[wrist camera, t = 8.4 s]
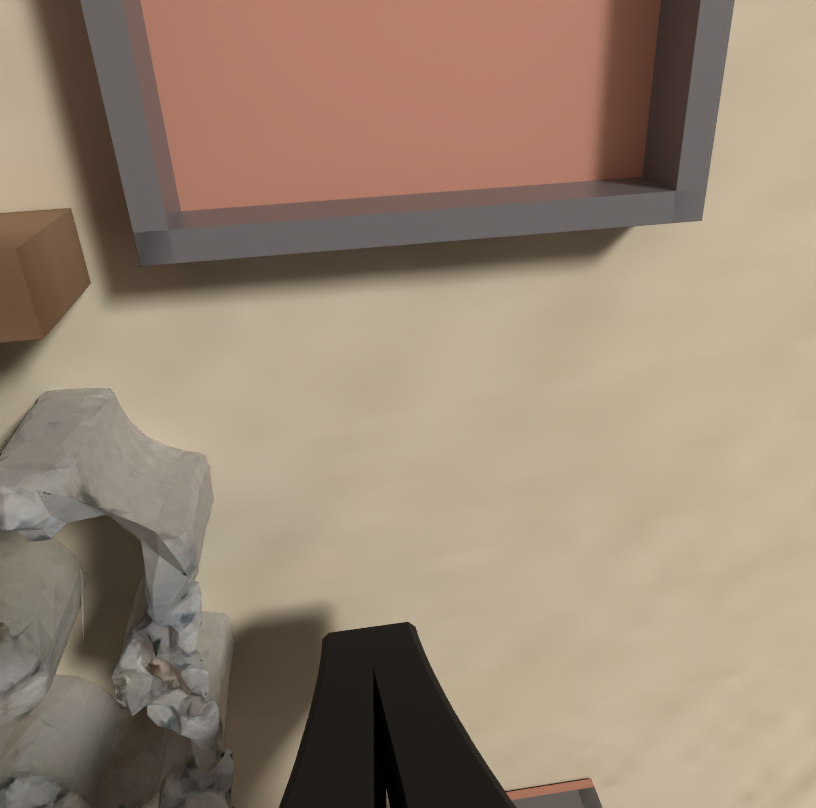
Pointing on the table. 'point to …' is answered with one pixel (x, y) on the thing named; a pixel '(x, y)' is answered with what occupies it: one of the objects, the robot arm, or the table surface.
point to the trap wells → (405, 128)
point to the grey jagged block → (146, 631)
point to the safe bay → (38, 271)
